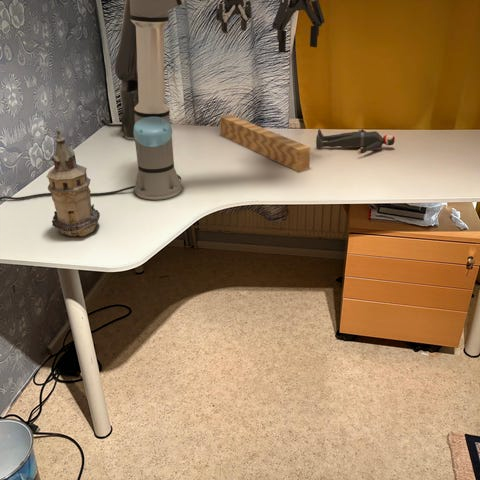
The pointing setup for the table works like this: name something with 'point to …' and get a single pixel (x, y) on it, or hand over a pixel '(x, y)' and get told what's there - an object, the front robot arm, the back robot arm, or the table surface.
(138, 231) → the table surface
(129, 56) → the back robot arm
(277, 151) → the post
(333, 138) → the toy
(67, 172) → the miniature building
